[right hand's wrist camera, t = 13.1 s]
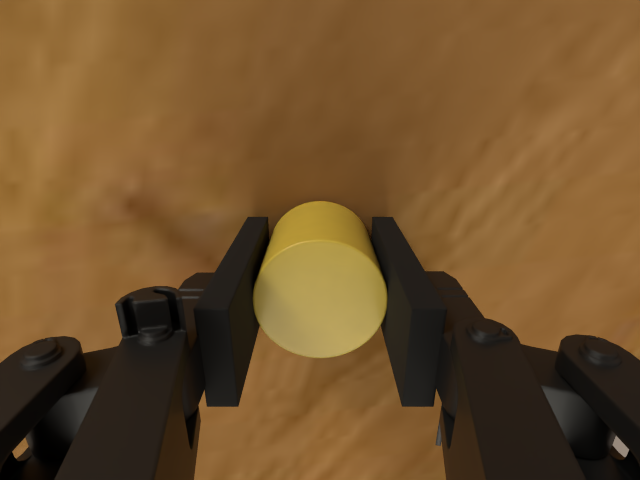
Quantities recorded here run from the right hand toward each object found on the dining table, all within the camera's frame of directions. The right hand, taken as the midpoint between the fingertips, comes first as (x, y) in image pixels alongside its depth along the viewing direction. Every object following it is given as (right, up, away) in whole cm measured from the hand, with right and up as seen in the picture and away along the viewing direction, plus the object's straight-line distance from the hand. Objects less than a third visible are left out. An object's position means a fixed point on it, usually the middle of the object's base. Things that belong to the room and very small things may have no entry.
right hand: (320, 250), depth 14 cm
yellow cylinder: (0, 0, 0) cm, 0 cm away
